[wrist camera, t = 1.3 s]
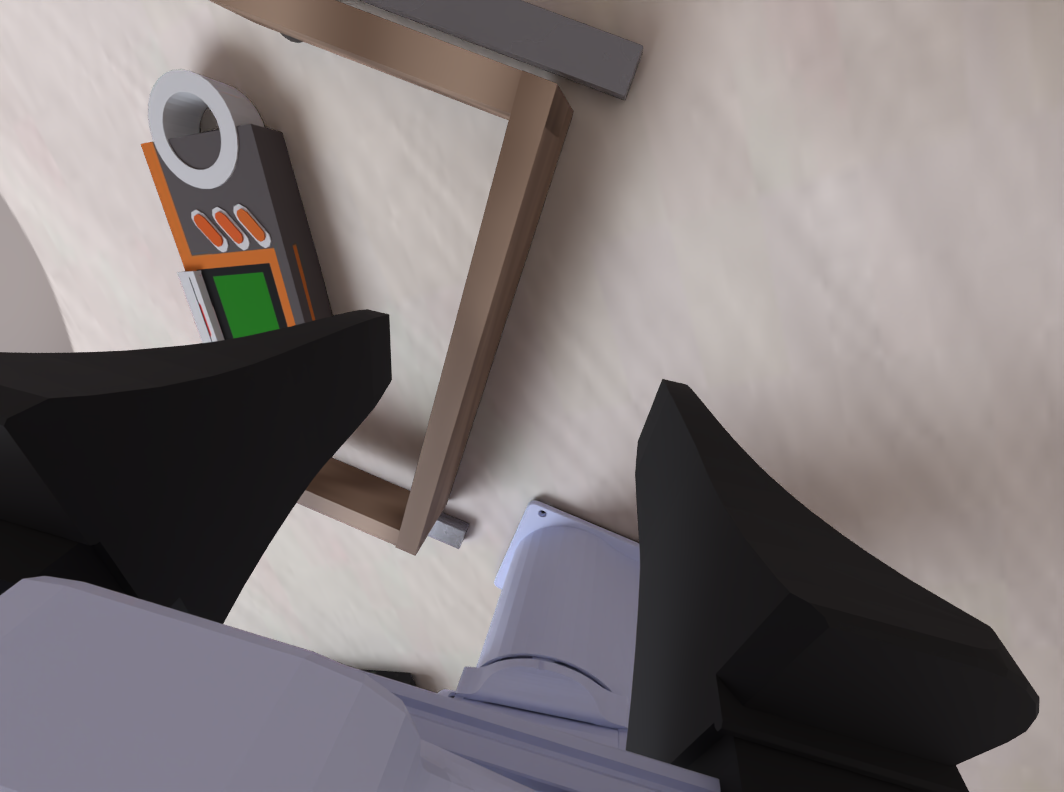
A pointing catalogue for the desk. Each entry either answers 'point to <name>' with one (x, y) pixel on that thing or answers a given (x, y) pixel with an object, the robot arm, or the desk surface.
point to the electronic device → (231, 211)
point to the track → (534, 38)
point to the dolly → (500, 253)
